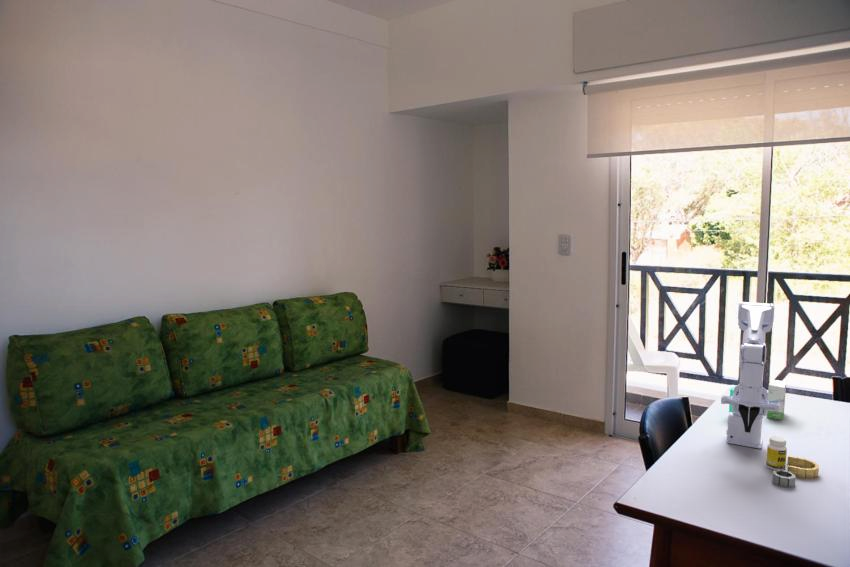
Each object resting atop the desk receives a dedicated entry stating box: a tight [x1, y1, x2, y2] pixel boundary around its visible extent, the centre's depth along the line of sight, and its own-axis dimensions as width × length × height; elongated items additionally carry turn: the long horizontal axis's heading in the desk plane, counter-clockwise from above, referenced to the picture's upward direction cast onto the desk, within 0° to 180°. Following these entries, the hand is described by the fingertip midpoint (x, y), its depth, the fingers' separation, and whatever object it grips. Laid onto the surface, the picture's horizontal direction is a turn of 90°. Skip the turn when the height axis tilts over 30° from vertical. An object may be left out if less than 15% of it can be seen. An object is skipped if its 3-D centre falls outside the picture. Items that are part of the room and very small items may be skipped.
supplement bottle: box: [765, 435, 788, 471], centre depth 170 cm, size 5×5×8 cm
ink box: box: [766, 379, 787, 421], centre depth 211 cm, size 8×5×12 cm, turn 146°
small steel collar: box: [771, 469, 796, 489], centre depth 161 cm, size 5×5×2 cm
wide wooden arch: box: [786, 455, 820, 480], centre depth 167 cm, size 7×8×2 cm
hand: (747, 431), depth 173 cm, fingers closed
